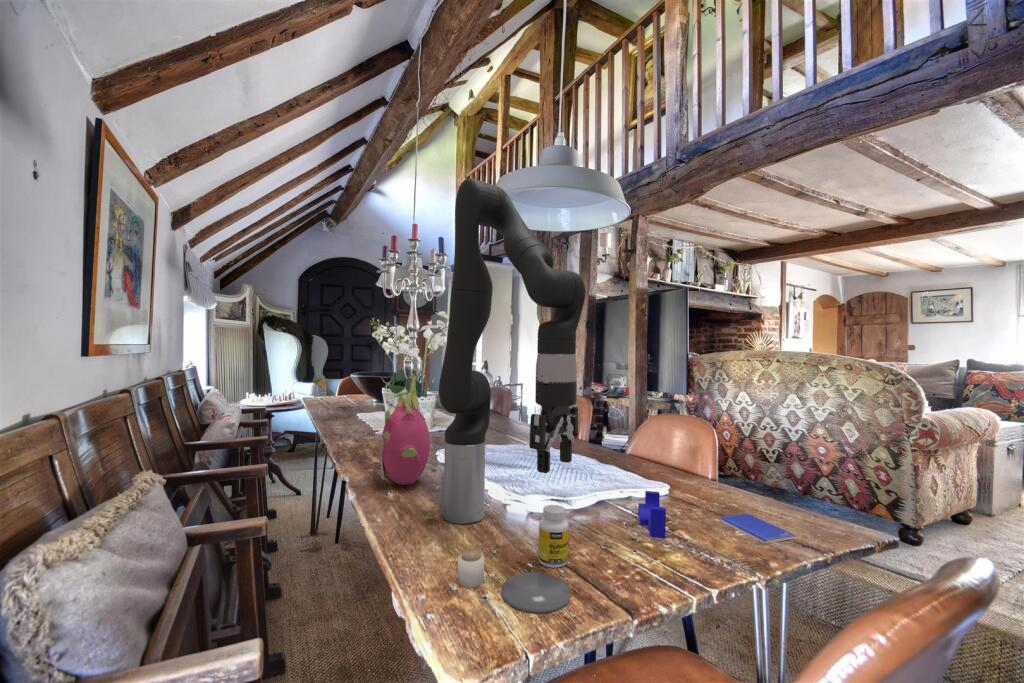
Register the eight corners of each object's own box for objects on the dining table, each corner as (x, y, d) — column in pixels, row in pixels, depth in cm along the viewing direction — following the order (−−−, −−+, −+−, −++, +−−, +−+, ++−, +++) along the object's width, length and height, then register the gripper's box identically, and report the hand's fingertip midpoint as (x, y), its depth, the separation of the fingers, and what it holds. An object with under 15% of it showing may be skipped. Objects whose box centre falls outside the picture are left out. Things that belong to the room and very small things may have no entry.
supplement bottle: (548, 571, 82) (549, 515, 82) (532, 558, 87) (533, 505, 87) (573, 565, 85) (574, 511, 85) (557, 552, 89) (558, 501, 89)
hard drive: (796, 534, 97) (749, 513, 109) (765, 539, 95) (720, 516, 106) (796, 542, 97) (748, 519, 109) (765, 546, 95) (720, 523, 106)
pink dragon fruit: (377, 476, 136) (379, 373, 136) (425, 473, 140) (426, 373, 140) (379, 496, 119) (381, 379, 119) (433, 492, 123) (435, 378, 123)
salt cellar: (452, 582, 78) (452, 553, 78) (468, 571, 82) (469, 544, 82) (472, 590, 76) (473, 560, 75) (489, 579, 79) (489, 550, 79)
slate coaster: (488, 597, 73) (488, 593, 73) (525, 569, 83) (525, 566, 83) (549, 622, 67) (549, 617, 67) (582, 588, 76) (582, 585, 76)
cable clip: (638, 515, 109) (638, 490, 109) (658, 517, 109) (658, 491, 109) (642, 537, 98) (643, 508, 98) (665, 539, 97) (665, 510, 97)
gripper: (556, 375, 94) (555, 456, 94) (517, 379, 82) (516, 472, 82) (591, 377, 89) (590, 462, 90) (555, 382, 78) (554, 480, 78)
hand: (554, 466), depth 86 cm, fingers open, 8 cm apart
